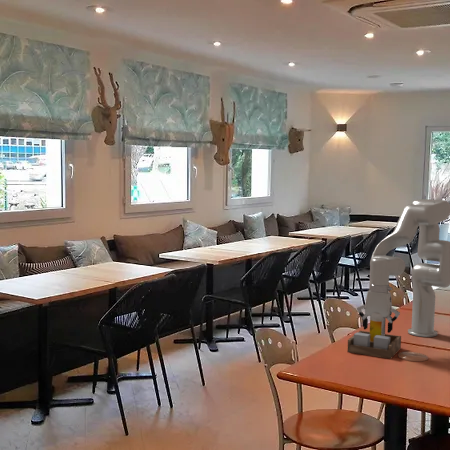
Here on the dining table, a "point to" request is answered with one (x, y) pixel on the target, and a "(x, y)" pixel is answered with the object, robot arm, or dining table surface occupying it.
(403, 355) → the coaster
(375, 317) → the beer can
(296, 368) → the dining table surface
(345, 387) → the dining table surface
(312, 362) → the dining table surface
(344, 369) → the dining table surface
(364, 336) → the offcut
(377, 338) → the offcut
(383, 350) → the rack
